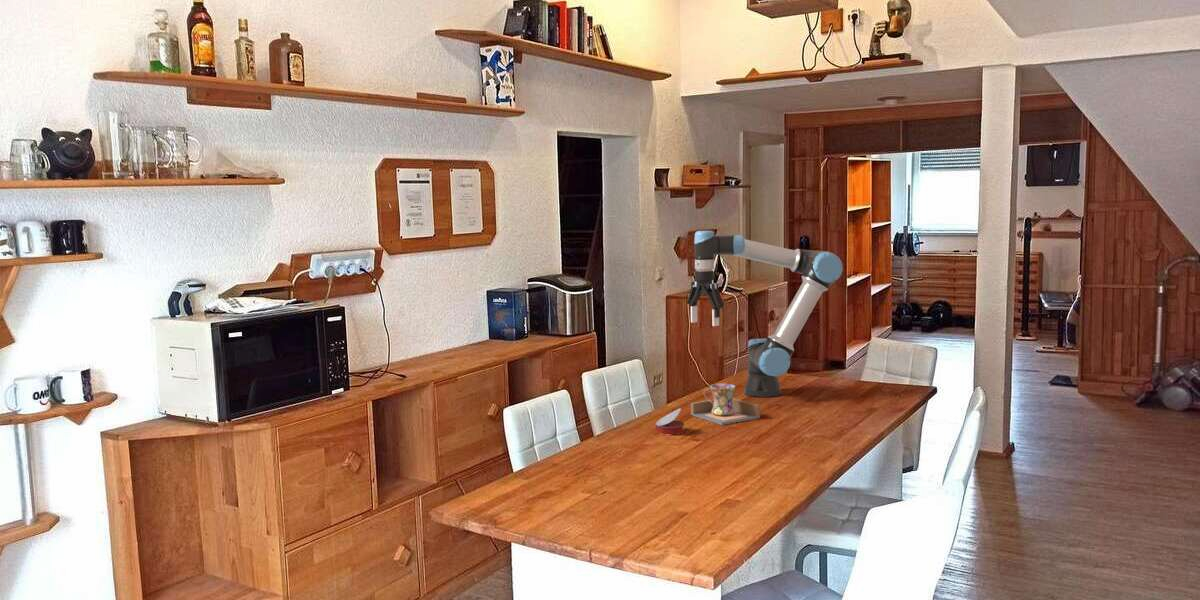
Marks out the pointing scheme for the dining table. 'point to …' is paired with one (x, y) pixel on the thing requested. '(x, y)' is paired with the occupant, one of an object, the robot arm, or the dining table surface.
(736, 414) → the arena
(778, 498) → the dining table surface
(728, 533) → the dining table surface
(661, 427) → the canned food
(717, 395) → the mug
